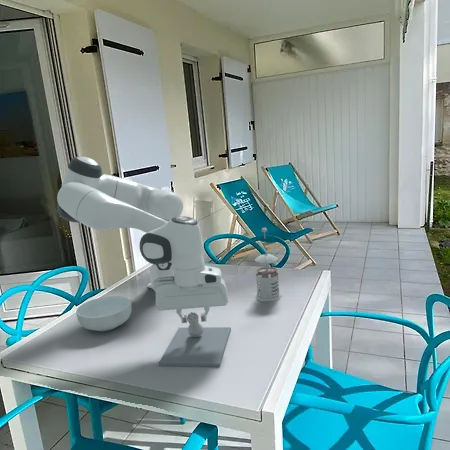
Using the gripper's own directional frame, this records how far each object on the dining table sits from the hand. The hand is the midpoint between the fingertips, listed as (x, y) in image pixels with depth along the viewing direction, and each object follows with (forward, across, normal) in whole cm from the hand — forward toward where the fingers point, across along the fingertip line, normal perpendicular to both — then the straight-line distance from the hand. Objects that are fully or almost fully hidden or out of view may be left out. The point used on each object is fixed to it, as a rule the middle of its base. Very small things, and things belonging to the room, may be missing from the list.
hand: (194, 321), depth 115 cm
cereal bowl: (+6, -30, +15) cm, 34 cm away
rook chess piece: (+4, 0, +2) cm, 5 cm away
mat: (+6, +1, -3) cm, 7 cm away
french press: (+6, +24, +30) cm, 39 cm away
